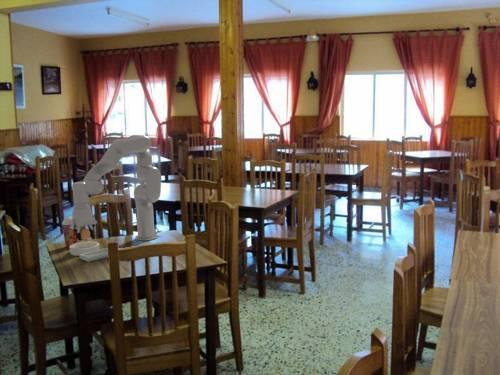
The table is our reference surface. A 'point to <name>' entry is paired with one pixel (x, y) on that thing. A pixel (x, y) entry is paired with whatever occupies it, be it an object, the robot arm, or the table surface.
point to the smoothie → (69, 232)
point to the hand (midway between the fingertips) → (84, 238)
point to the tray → (94, 255)
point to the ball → (84, 233)
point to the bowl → (83, 247)
